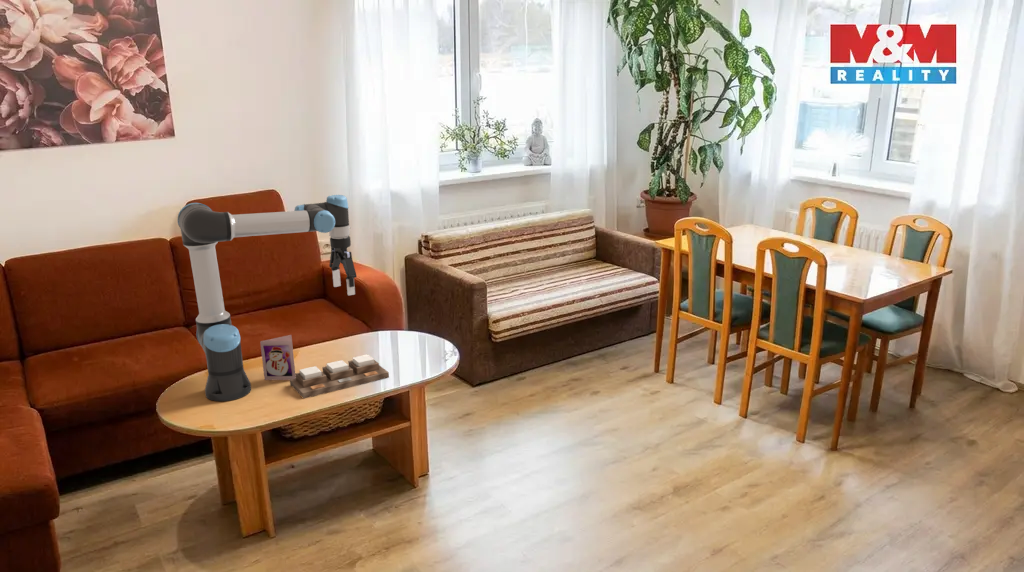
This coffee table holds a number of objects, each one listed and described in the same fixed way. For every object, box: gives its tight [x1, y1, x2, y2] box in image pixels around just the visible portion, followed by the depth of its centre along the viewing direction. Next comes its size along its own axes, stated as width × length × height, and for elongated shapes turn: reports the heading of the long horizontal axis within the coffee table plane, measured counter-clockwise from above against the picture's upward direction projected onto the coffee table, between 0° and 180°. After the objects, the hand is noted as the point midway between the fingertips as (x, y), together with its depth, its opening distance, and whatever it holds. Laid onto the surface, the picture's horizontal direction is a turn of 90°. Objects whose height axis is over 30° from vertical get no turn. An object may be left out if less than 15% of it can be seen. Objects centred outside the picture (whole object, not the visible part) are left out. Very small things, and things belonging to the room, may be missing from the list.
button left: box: [299, 365, 323, 380], centre depth 281 cm, size 6×6×2 cm
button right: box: [351, 353, 375, 367], centre depth 291 cm, size 6×6×2 cm
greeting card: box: [259, 334, 296, 381], centre depth 288 cm, size 11×7×15 cm, turn 90°
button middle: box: [325, 359, 349, 373], centre depth 286 cm, size 6×6×2 cm
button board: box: [289, 359, 390, 400], centre depth 285 cm, size 32×14×4 cm, turn 123°
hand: (344, 290), depth 304 cm, fingers open, 13 cm apart
